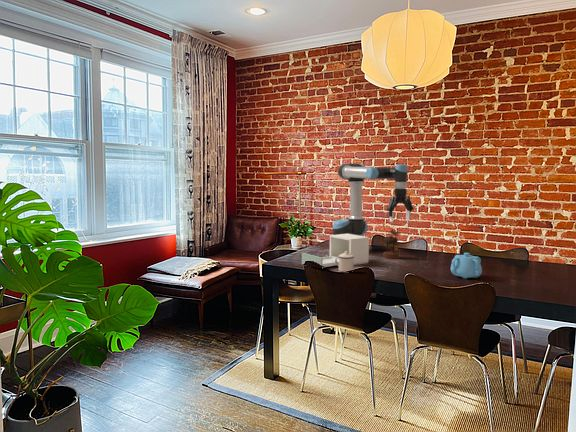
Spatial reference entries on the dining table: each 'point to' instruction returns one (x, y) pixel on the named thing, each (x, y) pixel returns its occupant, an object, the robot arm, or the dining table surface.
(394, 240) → the bird nest figurine
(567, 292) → the dining table surface
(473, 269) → the decorative pot
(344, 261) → the teacup with lid
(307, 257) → the tray
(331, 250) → the housing
